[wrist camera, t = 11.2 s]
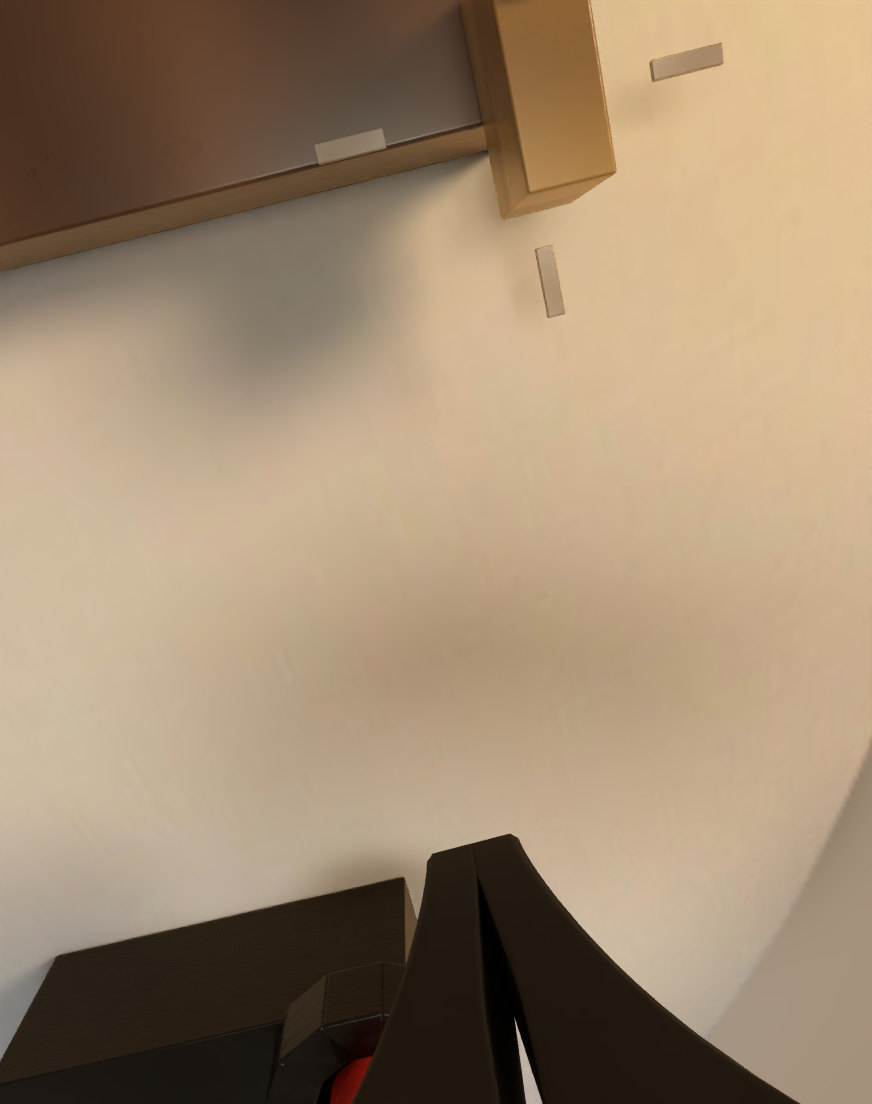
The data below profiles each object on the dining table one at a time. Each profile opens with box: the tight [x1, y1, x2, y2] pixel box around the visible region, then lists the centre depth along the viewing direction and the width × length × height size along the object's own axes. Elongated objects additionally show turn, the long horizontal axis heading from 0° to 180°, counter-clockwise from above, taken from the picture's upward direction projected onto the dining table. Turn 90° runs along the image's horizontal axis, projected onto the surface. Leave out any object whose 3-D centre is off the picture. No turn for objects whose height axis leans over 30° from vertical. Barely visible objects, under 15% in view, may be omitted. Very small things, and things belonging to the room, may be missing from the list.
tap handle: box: [459, 0, 616, 219], centre depth 14 cm, size 4×2×4 cm, turn 13°
